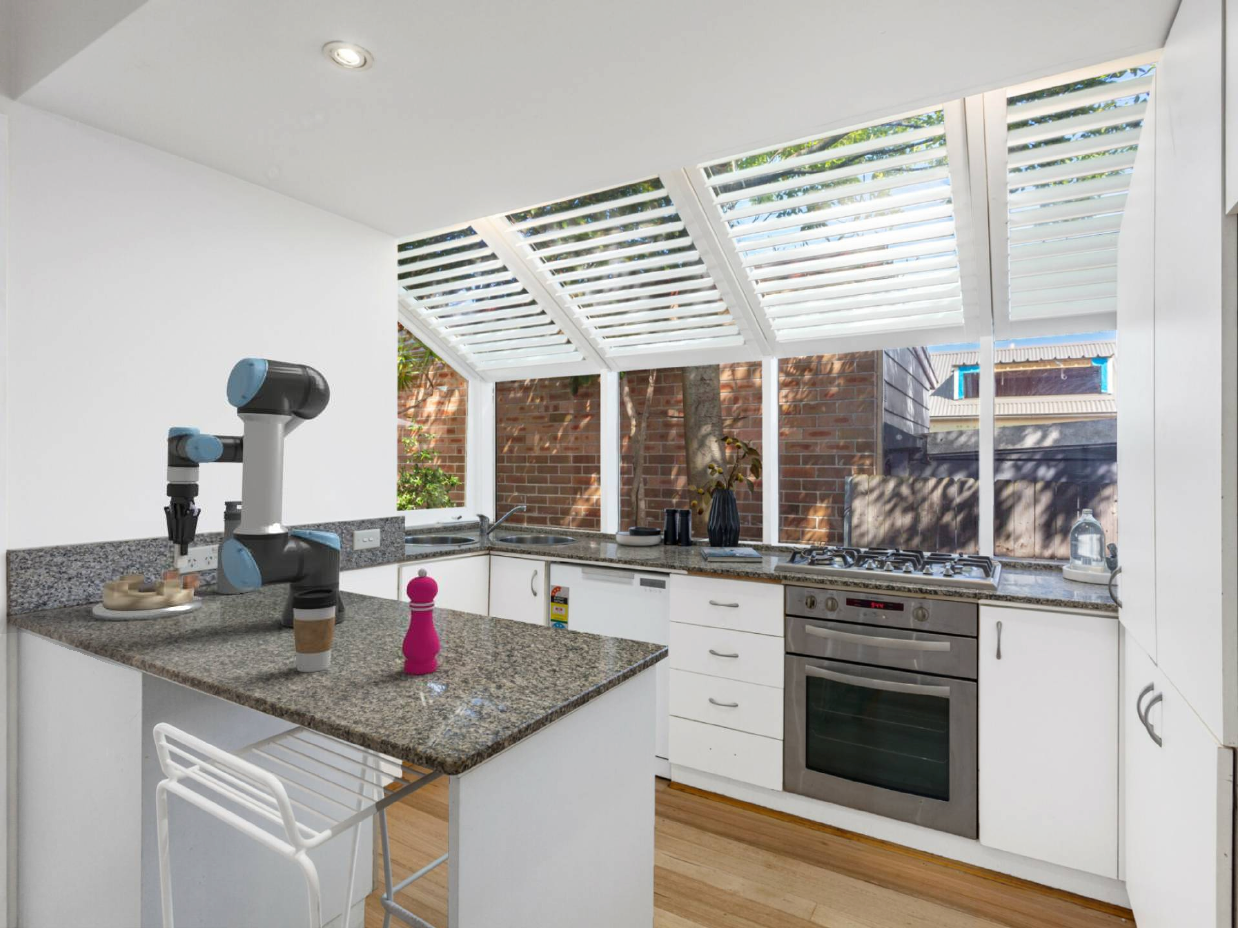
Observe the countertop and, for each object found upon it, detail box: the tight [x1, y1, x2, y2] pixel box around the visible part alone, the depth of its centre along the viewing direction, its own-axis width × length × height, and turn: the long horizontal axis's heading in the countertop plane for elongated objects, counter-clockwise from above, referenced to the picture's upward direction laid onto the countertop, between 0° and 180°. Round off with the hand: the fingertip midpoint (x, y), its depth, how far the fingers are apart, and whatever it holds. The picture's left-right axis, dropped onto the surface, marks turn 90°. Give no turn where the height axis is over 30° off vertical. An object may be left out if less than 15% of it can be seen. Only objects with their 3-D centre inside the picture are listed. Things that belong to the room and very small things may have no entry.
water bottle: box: [216, 500, 254, 595], centre depth 210 cm, size 10×10×28 cm
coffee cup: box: [291, 588, 338, 673], centre depth 134 cm, size 8×8×15 cm
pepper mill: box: [401, 567, 441, 675], centre depth 134 cm, size 7×7×20 cm
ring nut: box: [102, 570, 200, 610], centre depth 182 cm, size 20×20×6 cm
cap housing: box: [92, 595, 203, 622], centre depth 182 cm, size 24×24×4 cm
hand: (180, 566), depth 189 cm, fingers closed
